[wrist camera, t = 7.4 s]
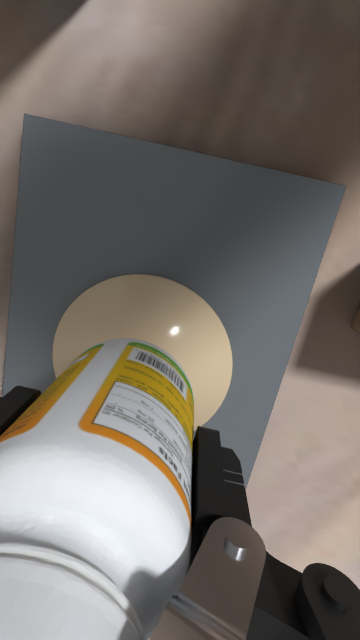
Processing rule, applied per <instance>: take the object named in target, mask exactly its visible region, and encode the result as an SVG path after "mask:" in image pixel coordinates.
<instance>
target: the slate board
mask: <svg viewBox="0 0 360 640" xmlns="http://www.w3.org/2000/svg"><path fill="white" fill-rule="evenodd" d="M345 188H346V186H344V185H339V184H335V183H331V182H326V181H322V180H317V179H313V178H308V177H304V176H299V175H295V174H291V173H286V172H282V171H277V170H273V169H268V168H264V167H260V166H255V165H251V164H246V163H242V162H237V161H233V160H228V159H224V158H220V157H215V156H211V155H206V154H202V153H197V152H193V151H189V150H184V149H180V148H175V147H171V146H166V145H162V144H158V143H153V142H149V141H144V140H140V139H135V138H131V137H126V136H122V135H118V134H113V133H109V132H104V131H100V130H95V129H91V128H87V127H82V126H78V125H73V124H69V123H64V122H60V121H56V120H51V119H47V118H42V117H38V116H33V115H29V114H24V121H23V135H22V148H21V161H20V174H19V187H18V200H17V213H16V226H15V239H14V252H13V265H12V278H11V291H10V304H9V317H8V330H7V343H6V356H5V369H4V382H3V395H2V397H4V396H5V395H6V394H7V393H8V392H10V391H11V390H12V389H13V388H14V387H16V386H18V385H19V386H24V387H28V388H33V389H37V390H40V391H41V394H42V393H43V392H44V391H45V390H46V389H47V388H48V387H49V386H50V385H51V384H52V383H53V382H54V381H55V380H56V379H57V378H58V377H59V376H60V375H61V374H62V373H63V371H64V370H65V369H66V368H67V367H68V366H69V365H70V364H71V363H72V362H73V361H74V360H75V359H76V358H77V357H78V356H79V355H81V354H82V353H83V352H84V351H86V350H87V349H89V348H90V347H92V346H94V345H96V344H98V343H101V342H104V341H107V340H111V339H117V338H131V339H138V340H142V341H146V342H149V343H152V344H154V345H156V346H158V347H160V348H162V349H163V350H165V351H166V352H168V353H169V354H170V355H171V356H172V357H173V358H174V359H175V360H176V361H177V362H178V363H179V364H180V365H181V367H182V368H183V370H184V371H185V373H186V375H187V376H188V378H189V381H190V383H191V386H192V390H193V395H194V434H193V440H194V437H195V433H196V429H197V427H198V426H202V427H206V428H211V429H215V430H219V432H220V441H221V447H226V448H230V449H233V451H234V452H235V454H236V455H237V457H238V458H239V460H240V463H241V468H242V476H243V480H244V486H245V490H246V487H247V484H248V481H249V478H250V475H251V472H252V469H253V466H254V463H255V460H256V457H257V454H258V451H259V448H260V445H261V442H262V439H263V436H264V433H265V430H266V427H267V424H268V421H269V418H270V415H271V412H272V409H273V406H274V402H275V399H276V396H277V393H278V390H279V387H280V384H281V381H282V378H283V375H284V372H285V369H286V366H287V363H288V360H289V357H290V354H291V351H292V348H293V345H294V342H295V339H296V336H297V333H298V330H299V327H300V324H301V321H302V318H303V315H304V312H305V309H306V306H307V303H308V300H309V297H310V294H311V291H312V288H313V285H314V282H315V279H316V276H317V273H318V270H319V267H320V264H321V261H322V258H323V255H324V252H325V249H326V246H327V242H328V239H329V236H330V233H331V230H332V227H333V224H334V221H335V218H336V215H337V212H338V209H339V206H340V203H341V200H342V197H343V194H344V191H345Z"/></svg>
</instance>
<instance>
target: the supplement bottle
mask: <svg viewBox="0 0 360 640" xmlns="http://www.w3.org/2000/svg"><path fill="white" fill-rule="evenodd" d="M193 434H194V395H193V390H192V386H191V383H190V381H189V378H188V376H187V375H186V373H185V371H184V370H183V368H182V367H181V365H180V364H179V363H178V362H177V361H176V360H175V359H174V358H173V357H172V356H171V355H170V354H169V353H168V352H166V351H165V350H163V349H162V348H160V347H158V346H156V345H154V344H152V343H149V342H146V341H142V340H138V339H131V338H117V339H111V340H107V341H104V342H101V343H98V344H96V345H94V346H92V347H90V348H89V349H87V350H86V351H84V352H83V353H82V354H81V355H79V356H78V357H77V358H76V359H75V360H74V361H73V362H72V363H71V364H70V365H69V366H68V367H67V368H66V369H65V370H64V371H63V373H62V374H61V375H60V376H59V377H58V378H57V379H56V380H55V381H54V382H53V383H52V384H51V385H50V386H49V387H48V388H47V389H46V390H45V391H44V392H43V393H42V394H41V395H40V396H39V397H38V398H37V399H36V400H35V401H34V402H33V403H32V404H31V405H30V406H29V407H28V408H27V409H26V411H25V412H23V413H22V414H21V416H20V417H19V418H18V419H17V420H16V421H15V422H14V423H13V424H12V425H11V426H10V427H9V428H8V429H7V430H6V431H5V432H4V433H3V434H2V435H1V436H0V640H148V639H149V638H150V637H151V635H152V633H153V631H154V630H155V628H156V626H157V624H158V622H159V620H160V618H161V616H162V614H163V612H164V610H165V608H166V606H167V604H168V602H169V600H170V599H171V597H172V596H173V595H177V593H178V591H179V589H180V587H181V585H182V583H183V581H184V579H185V577H186V575H187V573H188V571H189V563H190V550H191V541H192V469H193Z"/></svg>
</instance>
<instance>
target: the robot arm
mask: <svg viewBox="0 0 360 640" xmlns="http://www.w3.org/2000/svg"><path fill="white" fill-rule="evenodd" d="M40 395H41V391H40V390H37V389H33V388H28V387H24V386H19V385H18V386H16V387H14V388H13V389H12V390H11V391H10V392H8V393H7V394H6V395H5V396H4V397H0V436H1V435H2V434H3V433H4V432H5V431H6V430H7V429H8V428H9V427H10V426H11V425H12V424H13V423H14V422H15V421H16V420H17V419H18V418H19V417H20V416H21V414H22V413H23V412H25V411H26V409H27V408H28V407H29V406H30V405H31V404H32V403H33V402H34V401H35V400H36V399H37V398H38V397H39V396H40ZM149 640H360V590H359V589H358V587H357V586H356V585H355V584H354V583H353V582H352V581H351V580H350V579H349V578H348V577H347V576H346V575H344V574H343V573H342V572H340V571H339V570H337V569H335V568H334V567H331V566H329V565H326V564H321V563H313V564H310V565H308V566H307V567H306V568H305V569H304V571H303V573H301V572H299V571H297V570H295V569H293V568H291V567H290V566H288V565H286V564H284V563H282V562H280V561H279V560H277V559H275V558H274V557H273V556H271V555H270V554H269V553H268V552H267V551H266V549H265V545H264V542H263V540H262V539H261V537H260V535H259V534H258V533H257V532H256V531H255V530H254V529H253V528H252V525H251V519H250V514H249V508H248V502H247V497H246V491H245V486H244V480H243V476H242V468H241V463H240V460H239V458H238V457H237V455H236V454H235V452H234V451H233V449H230V448H226V447H221V441H220V432H219V430H215V429H211V428H206V427H202V426H198V427H197V429H196V433H195V437H194V440H193V469H192V541H191V550H190V563H189V571H188V573H187V575H186V577H185V579H184V581H183V583H182V585H181V587H180V589H179V591H178V593H177V595H173V596H172V597H171V599H170V600H169V602H168V604H167V606H166V608H165V610H164V612H163V614H162V616H161V618H160V620H159V622H158V624H157V626H156V628H155V630H154V631H153V633H152V635H151V637H150V639H149Z"/></svg>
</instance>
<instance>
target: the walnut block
mask: <svg viewBox="0 0 360 640" xmlns="http://www.w3.org/2000/svg"><path fill="white" fill-rule="evenodd" d="M351 328H353V329H354V330H356V331H358V332H359V333H360V303H359V306H358V308H357V311H356V314H355V316H354V319H353V322H352V324H351Z"/></svg>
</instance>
